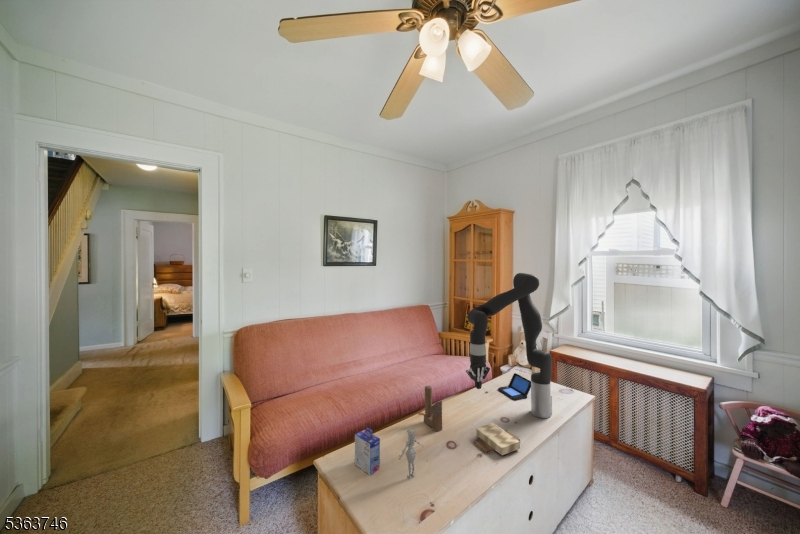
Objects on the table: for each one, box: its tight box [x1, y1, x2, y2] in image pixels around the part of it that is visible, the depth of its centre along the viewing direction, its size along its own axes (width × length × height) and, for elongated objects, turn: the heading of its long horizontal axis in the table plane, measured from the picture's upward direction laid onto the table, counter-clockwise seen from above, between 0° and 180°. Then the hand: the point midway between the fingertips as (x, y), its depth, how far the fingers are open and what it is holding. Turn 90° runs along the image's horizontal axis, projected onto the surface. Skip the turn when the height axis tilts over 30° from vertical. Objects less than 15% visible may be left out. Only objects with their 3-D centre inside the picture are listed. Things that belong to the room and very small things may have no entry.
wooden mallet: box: [423, 385, 443, 432], centre depth 143 cm, size 4×11×18 cm, turn 30°
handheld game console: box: [497, 372, 531, 401], centre depth 176 cm, size 16×13×9 cm
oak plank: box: [475, 422, 521, 456], centre depth 128 cm, size 10×3×16 cm
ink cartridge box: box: [354, 427, 381, 476], centre depth 115 cm, size 10×6×14 cm, turn 47°
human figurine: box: [398, 428, 424, 480], centre depth 109 cm, size 12×4×18 cm, turn 128°
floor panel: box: [473, 429, 521, 455], centre depth 129 cm, size 19×8×1 cm, turn 115°
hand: (478, 388), depth 139 cm, fingers closed
